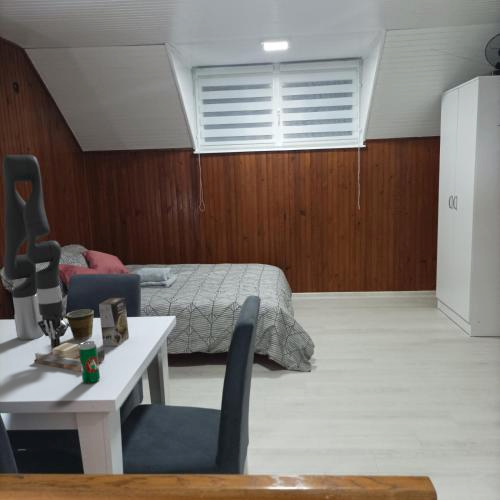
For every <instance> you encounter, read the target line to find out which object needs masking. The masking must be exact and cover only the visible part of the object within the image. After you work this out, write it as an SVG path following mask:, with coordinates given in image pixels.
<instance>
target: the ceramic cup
mask: <svg viewBox="0 0 500 500" xmlns="http://www.w3.org/2000/svg"><path fill="white" fill-rule="evenodd" d="M94 314H95V313H94V310H92V309H89V308H88V309H85V308H84V309H78V310H77V309H76V310H73V311H70V312H67V314H63V315H62V317H63V318H64V317H65V318H66V319H67V322H66V321H65V320H63V321H64V322H65V323H69V326H68V328H70V330H71V334H72V338H73V340H75V341H85V340H89V339H91V337H93V328H94V327H93V326H94V318H95V317H94Z"/></svg>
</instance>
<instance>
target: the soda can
mask: <svg viewBox="0 0 500 500" xmlns="http://www.w3.org/2000/svg"><path fill="white" fill-rule="evenodd" d="M97 351H98V347H97V344H96V342H95V341H94V340H93V341H92V340H86V341H83V342H81V343H79V355H80V364H81V371H80V372H81V380H82V382H83V383H85V384H87V385H90V384H94V383H97V382H98V381H99V380H100V378H101V375H100V374H101V373H100V364H99V363H98V356H97Z"/></svg>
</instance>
